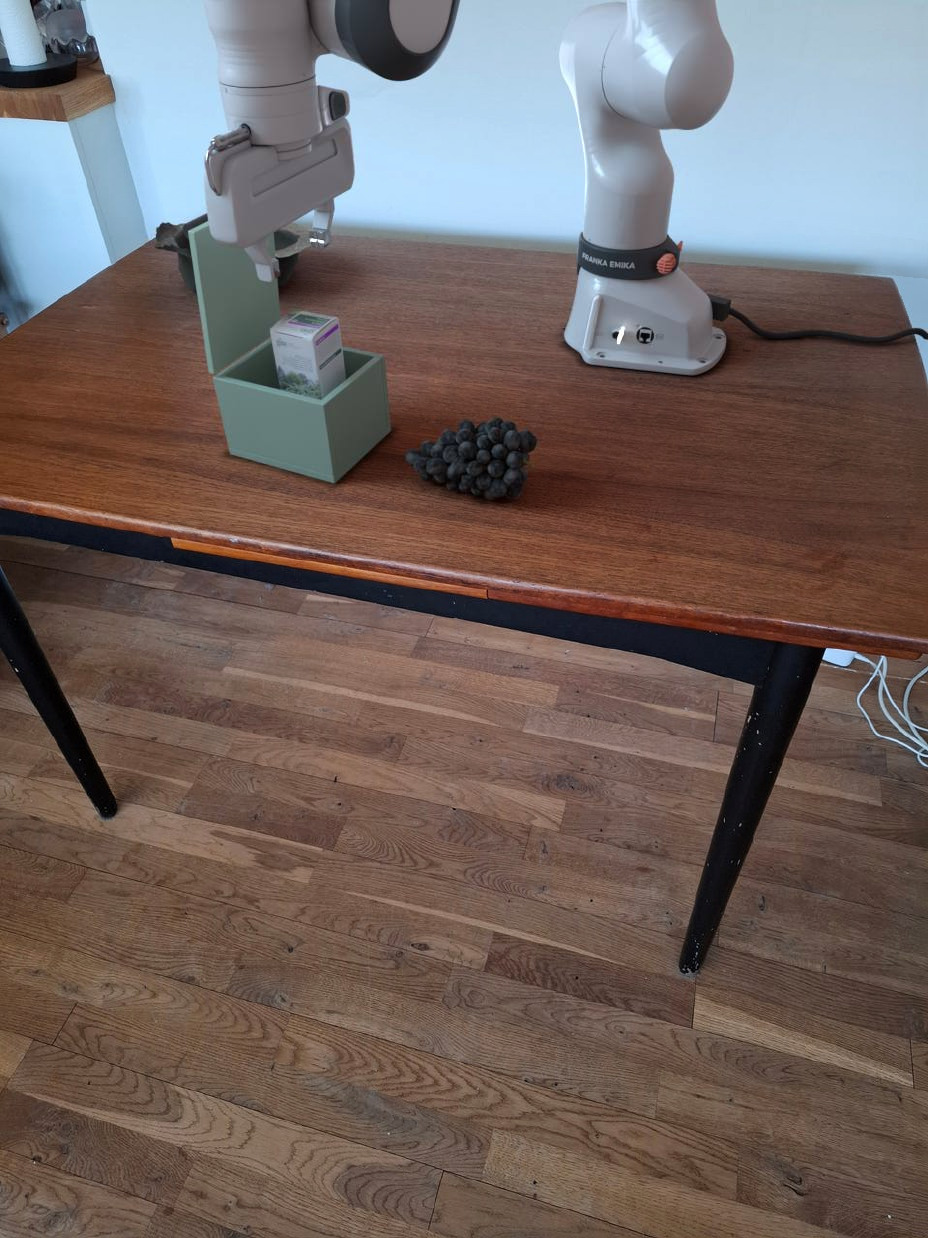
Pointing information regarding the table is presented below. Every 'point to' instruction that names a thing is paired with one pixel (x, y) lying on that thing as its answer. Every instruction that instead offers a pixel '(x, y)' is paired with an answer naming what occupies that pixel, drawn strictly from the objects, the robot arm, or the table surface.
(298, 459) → the chest
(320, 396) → the syrup box
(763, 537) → the table surface
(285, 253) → the stone bowl
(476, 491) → the fruit
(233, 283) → the lid
